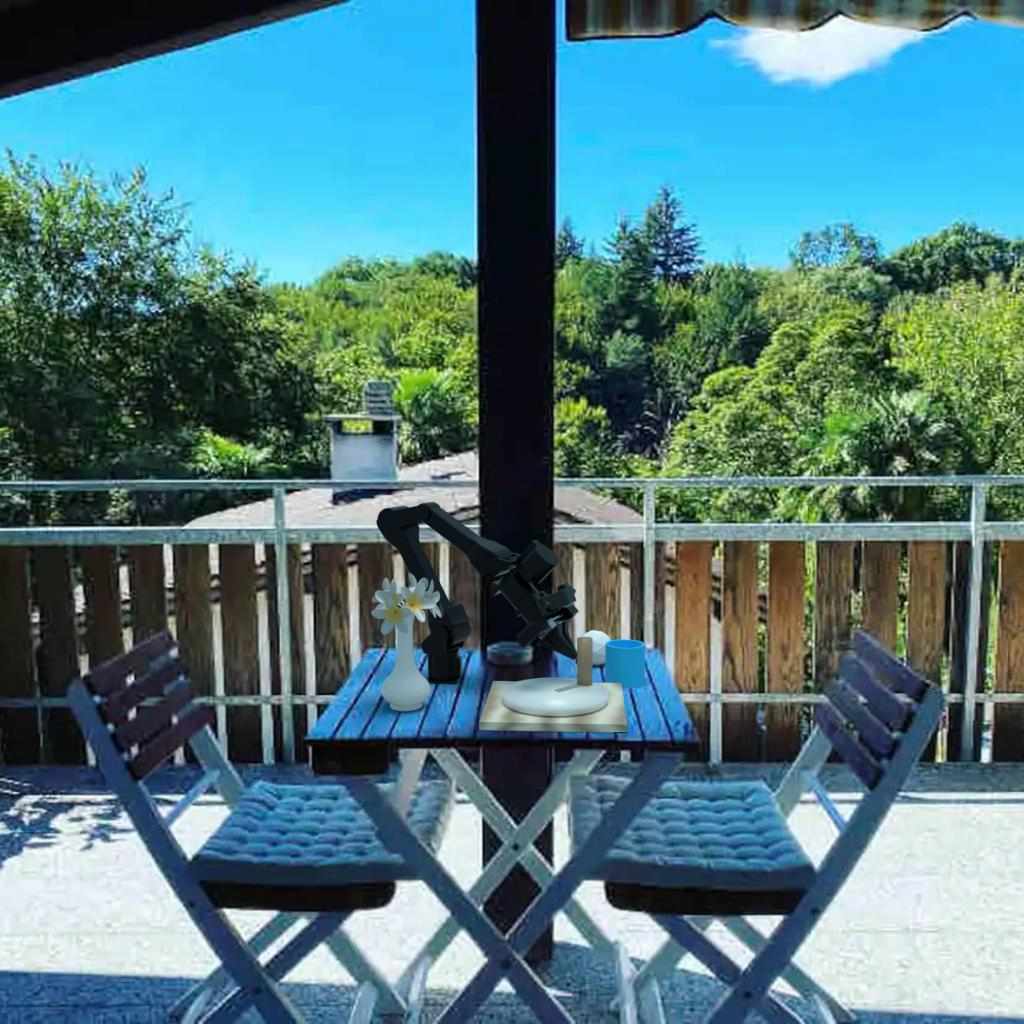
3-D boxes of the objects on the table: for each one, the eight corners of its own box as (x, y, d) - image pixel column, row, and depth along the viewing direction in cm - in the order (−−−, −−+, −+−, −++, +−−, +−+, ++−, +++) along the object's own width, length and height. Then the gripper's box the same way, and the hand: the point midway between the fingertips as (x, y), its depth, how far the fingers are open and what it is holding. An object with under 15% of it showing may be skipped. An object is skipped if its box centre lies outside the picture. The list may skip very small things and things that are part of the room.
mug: (645, 688, 197) (645, 649, 196) (605, 687, 198) (605, 648, 197) (643, 672, 209) (643, 635, 208) (605, 671, 210) (605, 634, 209)
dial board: (479, 730, 172) (479, 720, 172) (493, 688, 197) (493, 679, 197) (627, 732, 170) (627, 723, 170) (621, 690, 196) (621, 681, 195)
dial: (553, 723, 169) (553, 664, 168) (480, 698, 184) (480, 644, 183) (630, 700, 183) (630, 646, 181) (556, 679, 197) (556, 628, 196)
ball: (603, 677, 215) (615, 654, 210) (569, 664, 215) (581, 641, 210) (609, 654, 221) (620, 631, 216) (576, 641, 221) (587, 618, 216)
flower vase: (368, 724, 175) (365, 587, 173) (378, 694, 194) (376, 570, 191) (440, 722, 176) (438, 586, 173) (443, 693, 194) (442, 570, 191)
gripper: (530, 579, 182) (585, 643, 178) (569, 564, 198) (620, 622, 195) (493, 617, 186) (546, 680, 182) (534, 599, 203) (583, 656, 199)
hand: (576, 658), depth 189 cm, fingers closed
